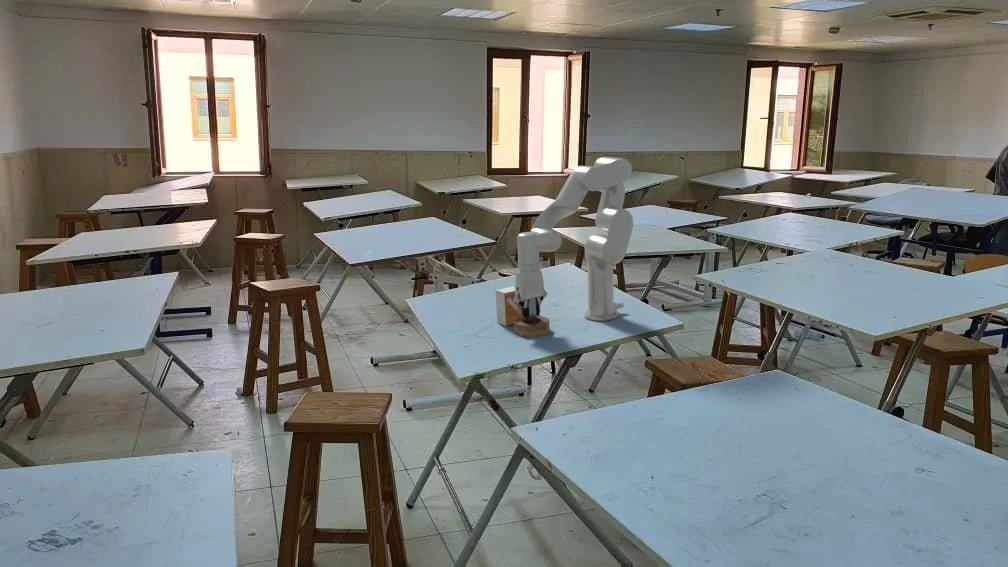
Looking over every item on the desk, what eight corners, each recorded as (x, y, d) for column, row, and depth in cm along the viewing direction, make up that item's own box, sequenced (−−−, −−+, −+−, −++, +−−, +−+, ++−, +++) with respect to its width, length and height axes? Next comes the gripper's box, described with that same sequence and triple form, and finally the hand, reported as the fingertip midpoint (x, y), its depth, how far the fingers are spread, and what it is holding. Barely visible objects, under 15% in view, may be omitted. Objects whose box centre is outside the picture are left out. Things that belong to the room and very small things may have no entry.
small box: (506, 326, 264) (504, 293, 260) (496, 322, 269) (494, 289, 265) (523, 322, 268) (522, 289, 264) (514, 318, 273) (512, 285, 270)
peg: (533, 324, 259) (532, 293, 256) (539, 327, 256) (538, 295, 253) (524, 326, 257) (522, 295, 254) (530, 329, 254) (528, 297, 251)
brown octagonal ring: (537, 323, 265) (536, 313, 264) (554, 331, 255) (554, 321, 254) (509, 330, 259) (508, 319, 258) (526, 338, 249) (526, 328, 248)
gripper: (542, 261, 258) (544, 309, 262) (503, 269, 250) (506, 318, 255) (554, 265, 251) (556, 314, 256) (514, 273, 244) (516, 323, 248)
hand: (531, 315), depth 255 cm, fingers closed on peg, 4 cm apart
